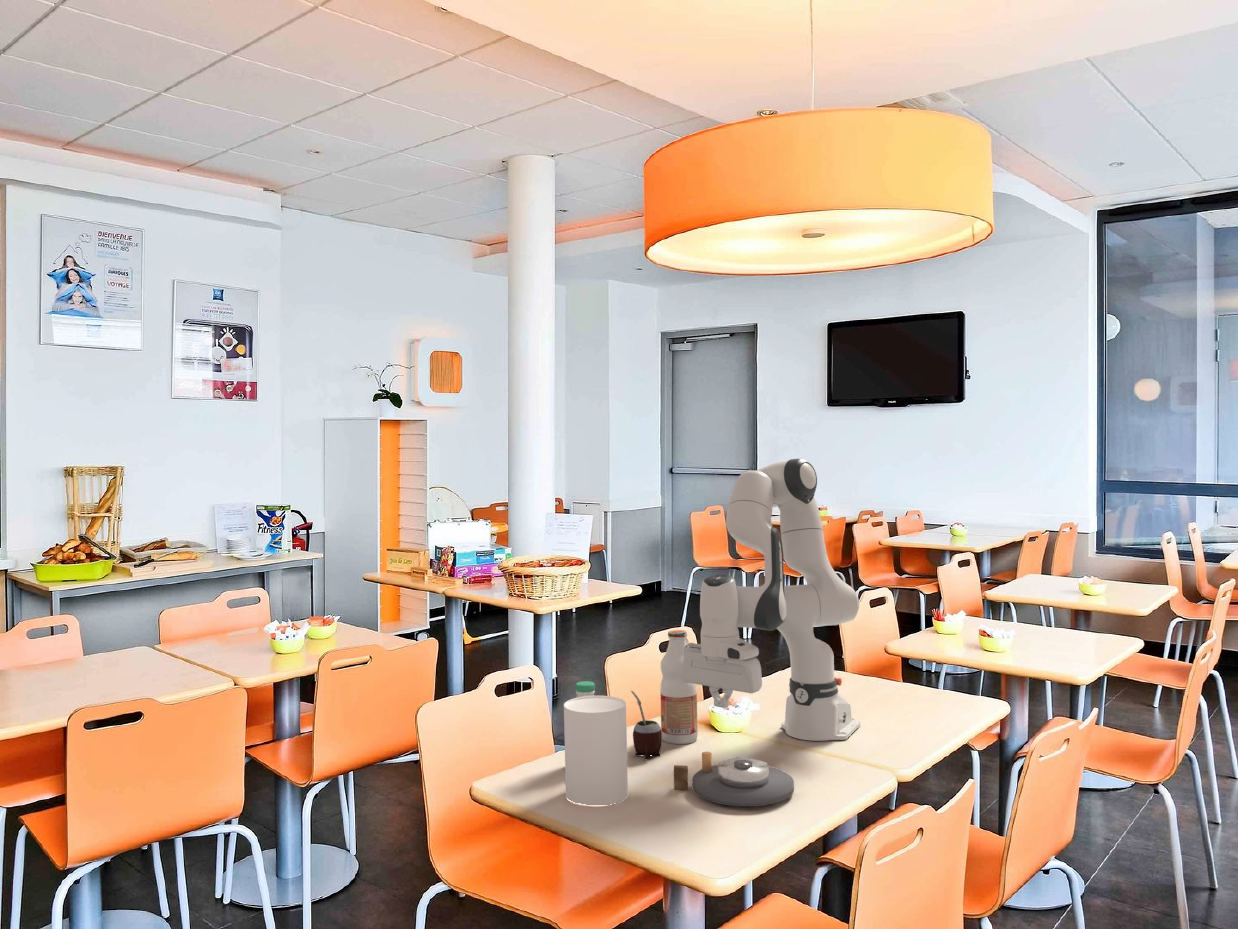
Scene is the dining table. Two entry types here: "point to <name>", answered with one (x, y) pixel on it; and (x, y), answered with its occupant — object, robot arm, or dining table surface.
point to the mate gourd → (646, 736)
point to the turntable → (714, 791)
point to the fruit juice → (677, 695)
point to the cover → (743, 773)
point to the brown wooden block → (680, 778)
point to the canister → (595, 750)
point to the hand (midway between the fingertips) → (721, 706)
